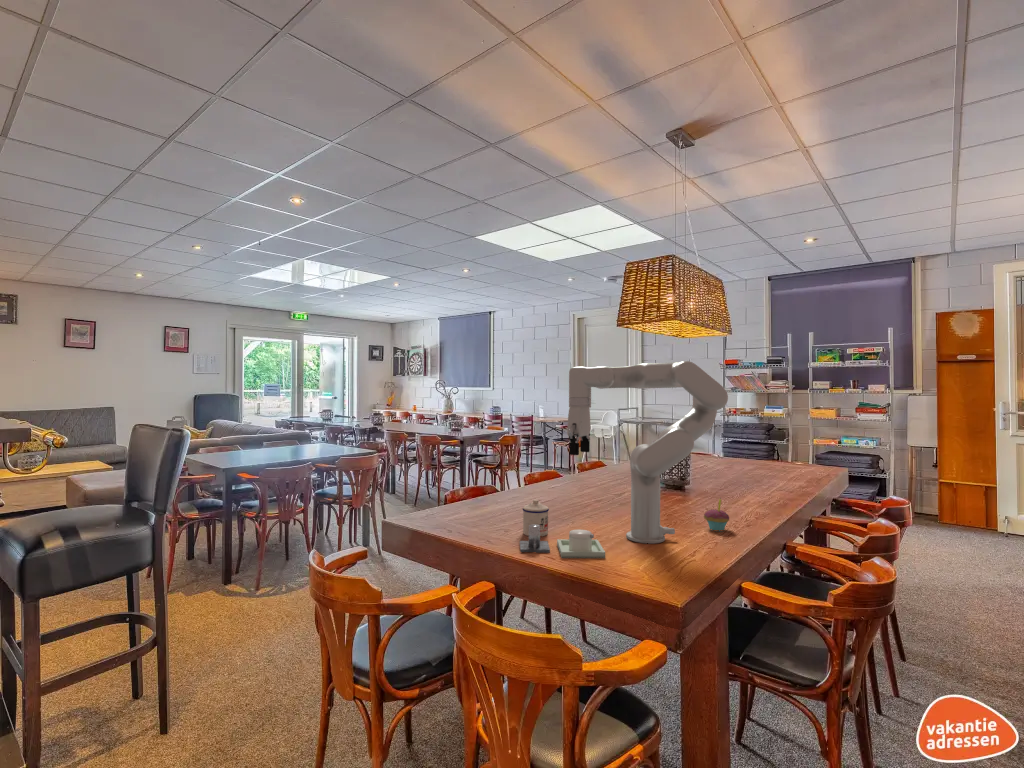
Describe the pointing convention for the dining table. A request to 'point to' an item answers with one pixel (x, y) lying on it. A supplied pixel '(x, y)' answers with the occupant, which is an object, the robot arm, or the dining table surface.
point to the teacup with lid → (535, 517)
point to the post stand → (534, 541)
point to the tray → (567, 553)
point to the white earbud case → (580, 540)
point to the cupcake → (717, 518)
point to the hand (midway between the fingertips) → (579, 453)
